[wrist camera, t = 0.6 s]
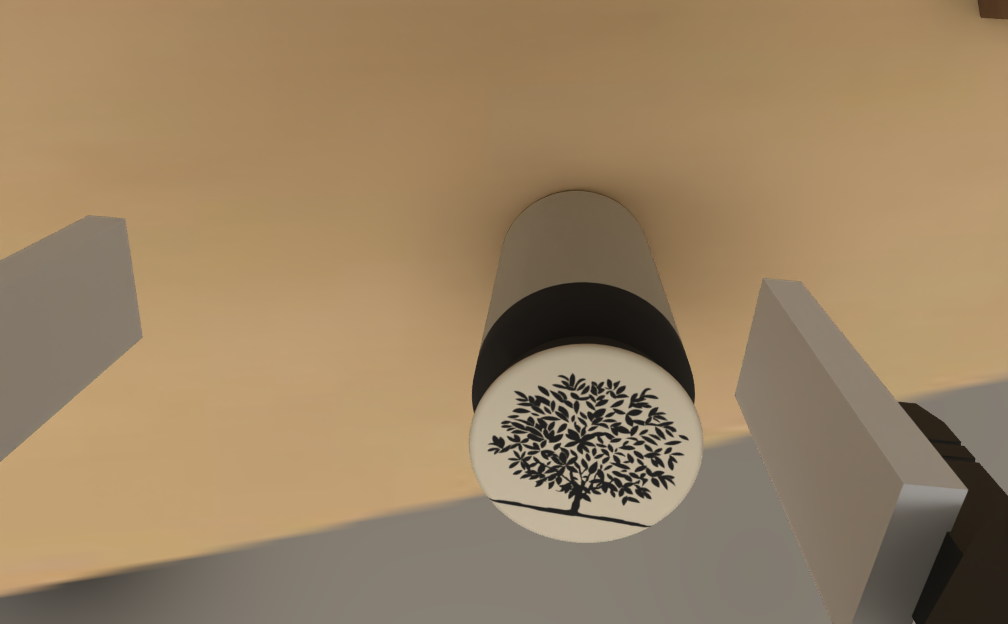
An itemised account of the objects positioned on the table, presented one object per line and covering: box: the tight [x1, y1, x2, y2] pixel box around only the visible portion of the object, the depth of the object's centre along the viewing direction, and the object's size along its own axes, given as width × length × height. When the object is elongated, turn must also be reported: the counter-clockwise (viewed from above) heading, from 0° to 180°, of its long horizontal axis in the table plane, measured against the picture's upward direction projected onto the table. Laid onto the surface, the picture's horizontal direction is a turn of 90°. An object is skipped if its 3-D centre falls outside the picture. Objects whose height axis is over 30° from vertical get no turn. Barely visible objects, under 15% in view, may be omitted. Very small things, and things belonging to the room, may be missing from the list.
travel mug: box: [469, 191, 703, 543], centre depth 32 cm, size 8×8×18 cm
